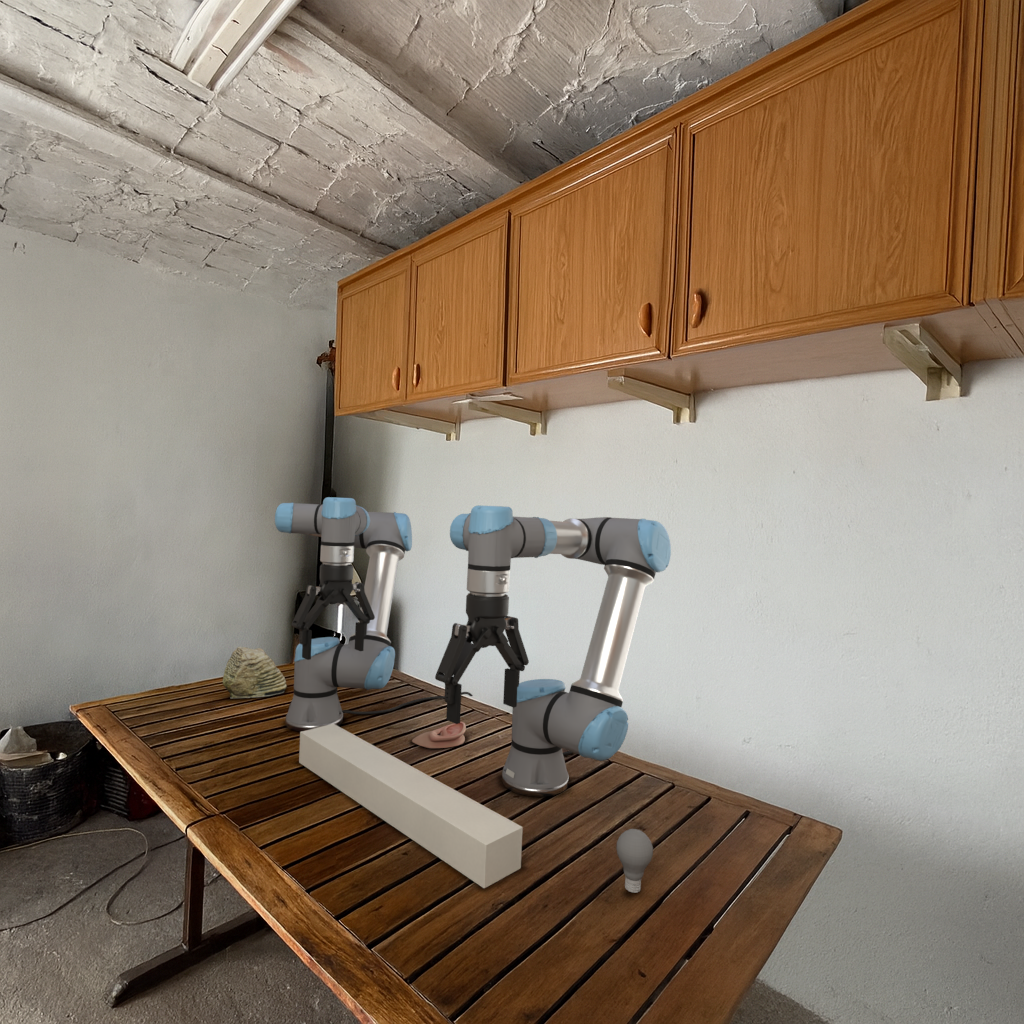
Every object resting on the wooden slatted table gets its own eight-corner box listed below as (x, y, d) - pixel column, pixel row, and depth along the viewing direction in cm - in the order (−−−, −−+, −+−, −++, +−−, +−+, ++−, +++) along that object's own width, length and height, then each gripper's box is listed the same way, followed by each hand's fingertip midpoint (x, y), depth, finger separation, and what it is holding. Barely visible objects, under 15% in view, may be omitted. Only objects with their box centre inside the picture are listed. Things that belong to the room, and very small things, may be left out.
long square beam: (298, 762, 150) (300, 731, 150) (332, 753, 156) (333, 723, 156) (484, 888, 105) (486, 844, 105) (521, 868, 111) (522, 826, 111)
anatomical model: (408, 730, 163) (423, 715, 174) (407, 745, 163) (422, 730, 174) (457, 736, 160) (469, 721, 171) (457, 752, 160) (469, 735, 171)
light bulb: (610, 879, 108) (613, 822, 108) (644, 879, 109) (647, 822, 109) (619, 902, 102) (622, 840, 102) (655, 901, 103) (658, 840, 103)
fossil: (218, 695, 195) (220, 647, 195) (278, 685, 208) (279, 640, 207) (228, 703, 189) (230, 653, 188) (289, 692, 201) (290, 645, 201)
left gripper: (293, 567, 136) (290, 665, 136) (391, 563, 154) (387, 649, 154) (278, 564, 141) (274, 658, 142) (373, 560, 159) (370, 644, 159)
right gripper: (446, 602, 100) (440, 735, 100) (550, 590, 118) (545, 704, 118) (417, 595, 105) (412, 722, 106) (521, 585, 123) (516, 694, 123)
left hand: (333, 654), depth 148 cm, fingers open, 13 cm apart
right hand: (482, 713), depth 112 cm, fingers open, 13 cm apart
